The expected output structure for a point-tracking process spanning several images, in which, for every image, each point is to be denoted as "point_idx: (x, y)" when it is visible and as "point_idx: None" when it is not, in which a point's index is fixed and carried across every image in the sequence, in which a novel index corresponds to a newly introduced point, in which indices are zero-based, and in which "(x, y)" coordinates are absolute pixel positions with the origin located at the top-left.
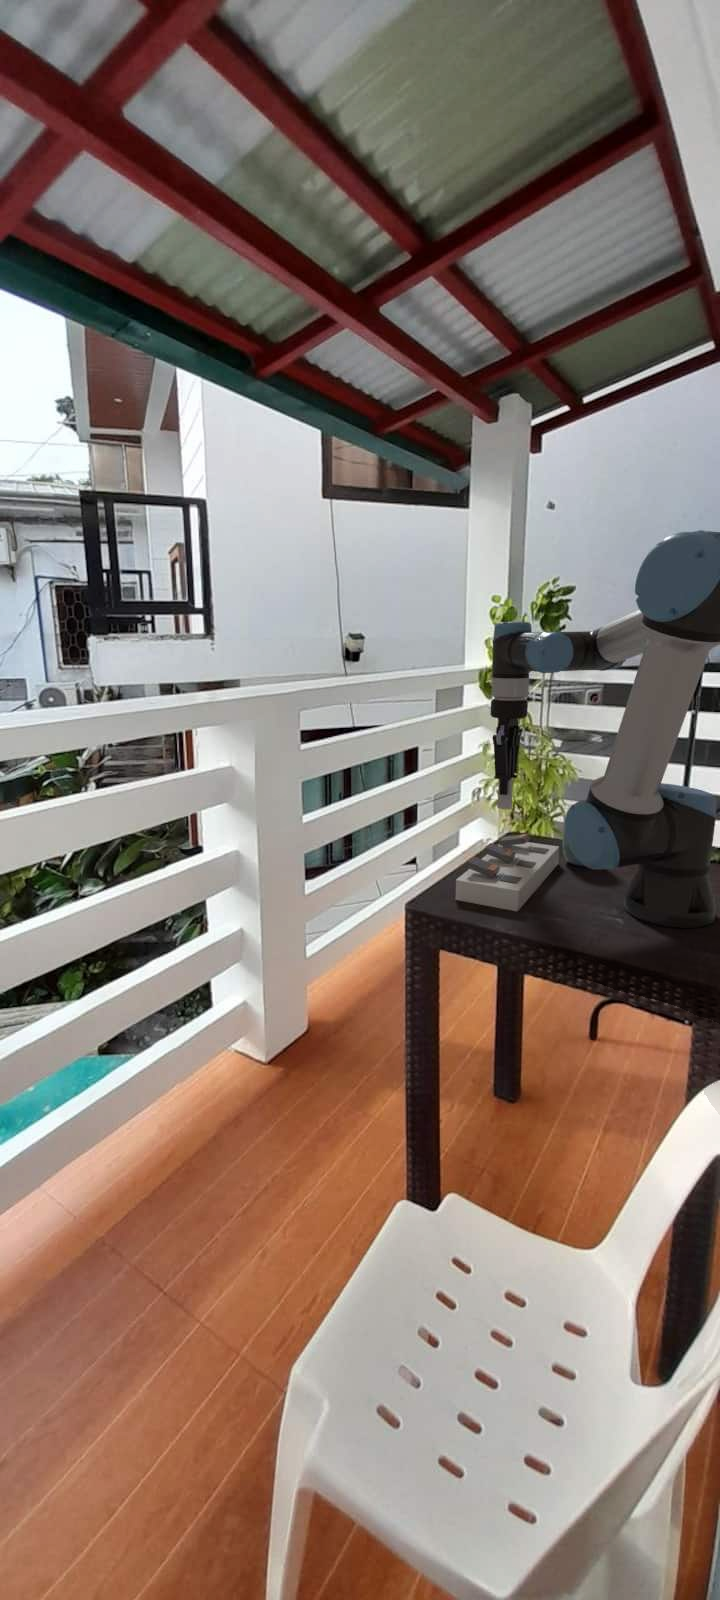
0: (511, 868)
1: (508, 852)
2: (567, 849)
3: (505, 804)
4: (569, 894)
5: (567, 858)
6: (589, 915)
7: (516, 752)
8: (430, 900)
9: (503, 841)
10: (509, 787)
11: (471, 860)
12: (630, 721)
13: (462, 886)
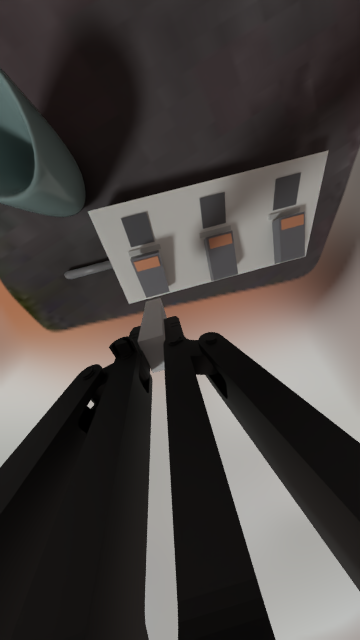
0: (240, 220)
1: (220, 242)
2: (81, 192)
3: (163, 310)
4: (208, 121)
5: (85, 199)
6: (281, 18)
7: (4, 518)
8: (293, 273)
9: (167, 285)
10: (162, 324)
11: (297, 255)
12: None
13: None
